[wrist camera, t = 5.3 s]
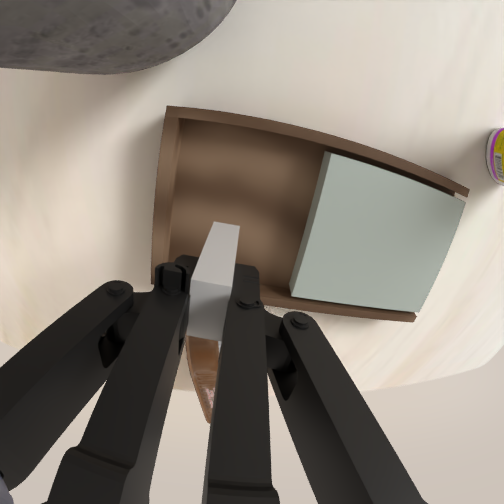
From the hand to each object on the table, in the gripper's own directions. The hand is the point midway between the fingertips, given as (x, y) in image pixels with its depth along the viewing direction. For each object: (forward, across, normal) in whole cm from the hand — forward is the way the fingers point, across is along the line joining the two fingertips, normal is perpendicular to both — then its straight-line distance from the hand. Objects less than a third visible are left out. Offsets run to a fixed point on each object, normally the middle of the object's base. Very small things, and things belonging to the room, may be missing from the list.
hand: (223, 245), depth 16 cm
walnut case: (+8, +7, 0) cm, 11 cm away
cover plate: (+7, +13, 0) cm, 15 cm away
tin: (+8, +1, -15) cm, 17 cm away
